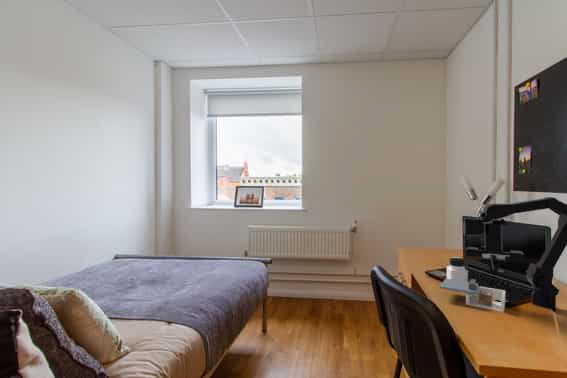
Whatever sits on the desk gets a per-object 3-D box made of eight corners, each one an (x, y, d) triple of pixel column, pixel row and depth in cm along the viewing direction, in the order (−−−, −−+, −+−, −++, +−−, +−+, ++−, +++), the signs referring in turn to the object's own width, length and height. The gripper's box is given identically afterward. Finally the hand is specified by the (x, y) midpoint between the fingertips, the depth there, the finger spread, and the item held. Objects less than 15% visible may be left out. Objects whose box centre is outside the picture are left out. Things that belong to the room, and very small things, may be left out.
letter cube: (492, 303, 123) (492, 292, 123) (491, 306, 120) (491, 295, 120) (480, 300, 126) (480, 290, 126) (478, 304, 122) (478, 293, 122)
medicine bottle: (468, 286, 144) (468, 260, 144) (451, 285, 146) (451, 259, 146) (462, 281, 151) (462, 256, 151) (446, 280, 153) (446, 256, 153)
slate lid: (478, 285, 130) (478, 278, 130) (474, 294, 121) (474, 286, 120) (445, 280, 137) (445, 273, 137) (439, 288, 128) (439, 280, 128)
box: (505, 303, 125) (505, 290, 125) (503, 314, 115) (503, 300, 115) (469, 296, 132) (470, 284, 132) (465, 306, 122) (465, 293, 122)
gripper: (522, 234, 127) (522, 273, 127) (468, 231, 137) (468, 267, 138) (523, 239, 118) (523, 281, 118) (465, 235, 128) (465, 274, 129)
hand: (493, 275), depth 126 cm, fingers closed
